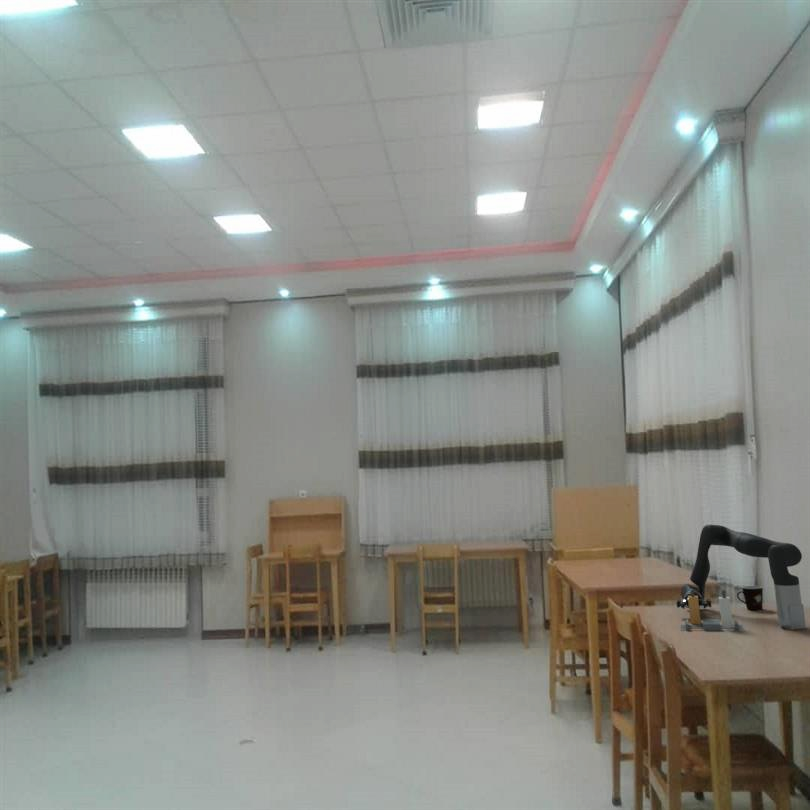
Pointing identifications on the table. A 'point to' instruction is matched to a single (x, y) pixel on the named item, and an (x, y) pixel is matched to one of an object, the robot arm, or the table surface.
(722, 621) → the white bottle
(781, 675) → the table surface
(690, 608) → the orange plug
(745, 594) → the coffee mug
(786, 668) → the table surface
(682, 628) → the cable rack
